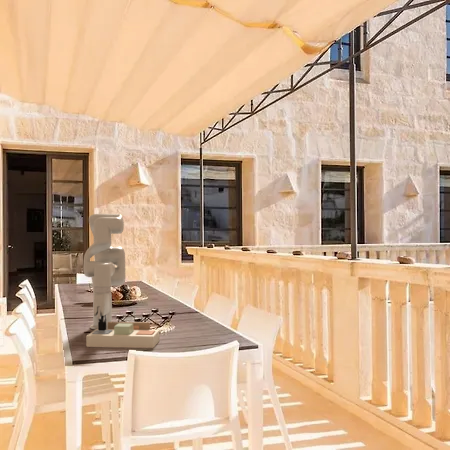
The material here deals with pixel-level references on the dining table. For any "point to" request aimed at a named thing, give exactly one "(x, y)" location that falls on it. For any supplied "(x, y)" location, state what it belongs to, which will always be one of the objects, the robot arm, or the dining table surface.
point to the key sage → (123, 328)
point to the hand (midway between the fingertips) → (102, 330)
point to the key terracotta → (145, 332)
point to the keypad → (124, 337)
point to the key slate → (102, 332)
